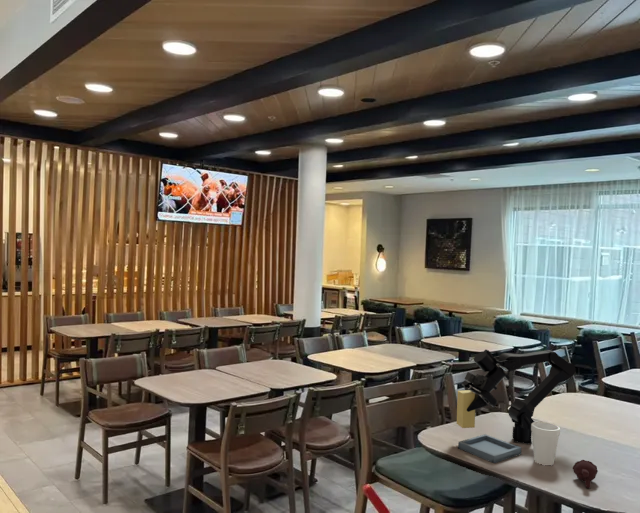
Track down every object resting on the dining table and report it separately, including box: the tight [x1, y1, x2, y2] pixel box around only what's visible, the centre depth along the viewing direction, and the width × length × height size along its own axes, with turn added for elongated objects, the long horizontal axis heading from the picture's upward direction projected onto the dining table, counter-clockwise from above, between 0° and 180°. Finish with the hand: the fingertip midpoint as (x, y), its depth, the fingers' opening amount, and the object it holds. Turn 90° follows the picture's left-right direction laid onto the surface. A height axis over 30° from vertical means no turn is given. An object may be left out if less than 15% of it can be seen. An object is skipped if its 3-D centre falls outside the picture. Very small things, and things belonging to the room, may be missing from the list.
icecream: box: [572, 459, 599, 489], centre depth 177 cm, size 7×7×15 cm
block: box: [456, 389, 476, 429], centre depth 206 cm, size 5×5×13 cm
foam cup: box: [531, 421, 561, 466], centre depth 191 cm, size 10×9×13 cm
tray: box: [457, 433, 522, 464], centre depth 199 cm, size 16×16×2 cm
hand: (464, 408), depth 206 cm, fingers closed on block, 5 cm apart
